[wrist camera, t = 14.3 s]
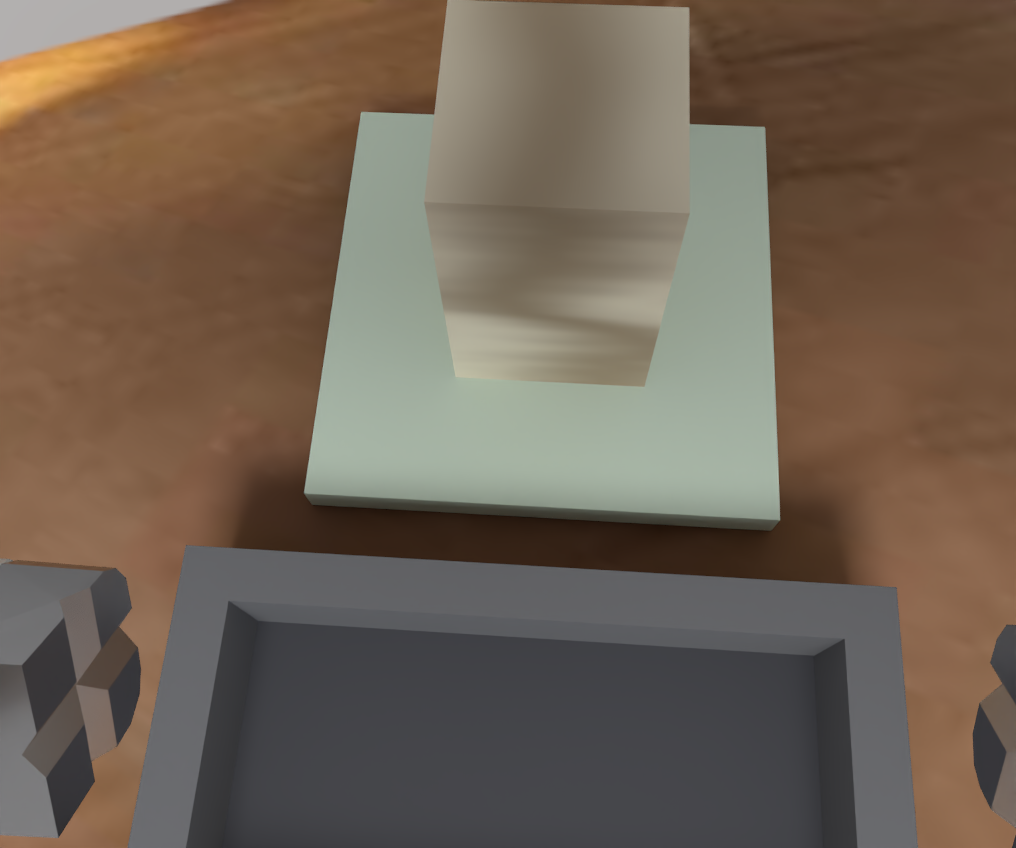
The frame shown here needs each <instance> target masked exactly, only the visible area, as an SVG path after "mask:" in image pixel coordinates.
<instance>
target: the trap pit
mask: <svg viewBox="0 0 1016 848" xmlns="http://www.w3.org/2000/svg"><path fill="white" fill-rule="evenodd" d="M128 848H918V844H917V831H916V819H915V807H914V795H913V783H912V770H911V758H910V746H909V734H908V722H907V710H906V697H905V685H904V673H903V661H902V649H901V636H900V624H899V612H898V600H897V588H896V587H882V586H865V585H848V584H831V583H815V582H798V581H781V580H764V579H747V578H730V577H713V576H696V575H679V574H662V573H645V572H629V571H612V570H595V569H578V568H561V567H544V566H527V565H510V564H493V563H476V562H459V561H443V560H426V559H409V558H392V557H375V556H358V555H341V554H324V553H307V552H290V551H273V550H257V549H240V548H223V547H206V546H189V545H186V548H185V553H184V558H183V563H182V568H181V574H180V579H179V584H178V589H177V594H176V600H175V605H174V610H173V615H172V620H171V625H170V631H169V636H168V641H167V646H166V651H165V657H164V662H163V667H162V672H161V677H160V682H159V688H158V693H157V698H156V703H155V708H154V714H153V719H152V724H151V729H150V734H149V740H148V745H147V750H146V755H145V760H144V765H143V771H142V776H141V781H140V786H139V791H138V797H137V802H136V807H135V812H134V817H133V822H132V828H131V833H130V838H129V843H128Z"/></svg>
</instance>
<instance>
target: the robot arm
mask: <svg viewBox="0 0 1016 848" xmlns="http://www.w3.org/2000/svg"><path fill="white" fill-rule="evenodd" d="M131 608H132V607H131V601H130V596H129V591H128V586H127V581H126V578H125V577H124V576H123V575H122V574H121V573H120V572H119V571H118V570H117V569H116V568H108V567H96V566H83V565H71V564H59V563H47V562H35V561H23V560H16V561H13V560H10V559H0V835H10V836H30V837H51V838H59V836H60V835H61V833H62V831H63V830H64V828H65V827H66V825H67V824H68V822H69V821H70V819H71V817H72V816H73V814H74V813H75V811H76V810H77V808H78V807H79V805H80V804H81V802H82V800H83V799H84V797H85V796H86V794H87V793H88V791H89V790H90V788H91V786H92V785H93V783H94V782H95V780H94V774H93V769H92V763H91V761H93V760H95V759H96V758H98V757H100V756H101V755H103V754H105V753H106V752H108V751H110V750H112V749H113V748H115V747H117V746H118V744H119V742H120V741H121V739H122V737H123V736H124V734H125V732H126V731H127V729H128V727H129V726H130V724H131V721H132V718H133V714H134V711H135V708H136V704H137V701H138V697H139V694H140V675H141V667H140V660H139V653H138V647H137V646H136V645H135V644H134V643H133V642H132V640H131V639H130V638H129V637H128V636H127V635H126V634H125V633H124V632H123V630H122V629H121V628H120V627H119V626H120V624H121V623H122V621H123V620H124V619H125V617H126V616H127V614H128V613H129V611H130V610H131ZM990 663H991V665H992V667H993V668H994V670H995V672H996V673H997V675H998V677H999V679H1000V680H1001V682H1002V685H1001V686H999V687H998V688H997V689H996V690H995V691H993V692H992V693H991V694H990V695H989V696H987V697H986V698H985V699H984V700H983V701H981V702H980V703H979V708H978V712H977V717H976V721H975V726H974V730H973V751H974V766H975V770H976V773H977V777H978V781H979V784H980V788H981V790H982V792H983V794H984V796H985V798H986V800H987V802H988V804H989V806H990V808H991V810H992V811H994V812H995V813H996V814H998V815H999V816H1000V817H1002V818H1003V819H1004V820H1006V821H1007V822H1008V823H1010V824H1011V825H1012V826H1014V827H1015V828H1016V625H1006V627H1005V628H1004V630H1003V631H1002V633H1001V634H1000V636H999V637H998V639H997V641H996V645H995V648H994V652H993V655H992V659H991V662H990ZM1012 848H1016V836H1015V840H1014V843H1013V846H1012Z"/></svg>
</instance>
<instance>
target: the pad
mask: <svg viewBox="0 0 1016 848" xmlns="http://www.w3.org/2000/svg"><path fill="white" fill-rule="evenodd" d="M433 122H434V115H431V114H405V113H378V112H361V117H360V123H359V130H358V137H357V143H356V150H355V157H354V163H353V170H352V177H351V183H350V190H349V197H348V203H347V210H346V217H345V223H344V230H343V237H342V243H341V250H340V257H339V263H338V270H337V277H336V283H335V290H334V297H333V303H332V310H331V317H330V323H329V330H328V337H327V343H326V350H325V357H324V363H323V370H322V377H321V383H320V390H319V396H318V403H317V410H316V416H315V423H314V430H313V436H312V443H311V450H310V456H309V463H308V470H307V476H306V483H305V490H304V494H305V495H306V497H307V498H308V500H309V501H310V502H311V504H312V505H324V506H342V507H359V508H377V509H394V510H412V511H430V512H447V513H465V514H482V515H500V516H518V517H535V518H553V519H570V520H588V521H606V522H623V523H641V524H658V525H676V526H694V527H711V528H729V529H746V530H764V531H772V529H773V528H774V527H775V526H776V525H777V523H778V522H779V521H780V499H779V473H778V447H777V421H776V395H775V369H774V344H773V318H772V292H771V266H770V240H769V214H768V188H767V163H766V137H765V127H752V126H725V125H698V124H690V214H689V218H688V222H687V226H686V230H685V233H684V237H683V241H682V245H681V249H680V253H679V256H678V260H677V264H676V268H675V272H674V276H673V279H672V283H671V287H670V291H669V295H668V298H667V302H666V306H665V310H664V314H663V318H662V321H661V325H660V329H659V333H658V337H657V340H656V344H655V348H654V352H653V356H652V360H651V363H650V367H649V371H648V375H647V379H646V383H645V386H644V387H638V386H618V385H598V384H579V383H559V382H540V381H520V380H500V379H481V378H461V377H455V371H454V366H453V360H452V355H451V349H450V343H449V338H448V332H447V327H446V321H445V316H444V310H443V304H442V299H441V293H440V288H439V282H438V277H437V271H436V266H435V260H434V254H433V249H432V243H431V238H430V232H429V227H428V221H427V215H426V210H425V204H424V199H425V190H426V181H427V173H428V164H429V156H430V147H431V139H432V130H433Z"/></svg>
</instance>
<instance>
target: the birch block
mask: <svg viewBox="0 0 1016 848" xmlns="http://www.w3.org/2000/svg"><path fill="white" fill-rule="evenodd" d="M424 204H425V210H426V215H427V221H428V227H429V232H430V238H431V243H432V249H433V254H434V260H435V266H436V271H437V277H438V282H439V288H440V293H441V299H442V304H443V310H444V316H445V321H446V327H447V332H448V338H449V343H450V349H451V355H452V360H453V366H454V371H455V377H461V378H481V379H500V380H520V381H540V382H559V383H579V384H598V385H618V386H638V387H644V386H645V383H646V379H647V375H648V371H649V367H650V363H651V360H652V356H653V352H654V348H655V344H656V340H657V337H658V333H659V329H660V325H661V321H662V318H663V314H664V310H665V306H666V302H667V298H668V295H669V291H670V287H671V283H672V279H673V276H674V272H675V268H676V264H677V260H678V256H679V253H680V249H681V245H682V241H683V237H684V233H685V230H686V226H687V222H688V218H689V214H690V112H689V7H659V6H628V5H597V4H566V3H536V2H505V1H474V0H448V2H447V10H446V19H445V27H444V36H443V44H442V53H441V62H440V70H439V79H438V87H437V96H436V104H435V113H434V122H433V130H432V139H431V147H430V156H429V164H428V173H427V181H426V190H425V199H424Z"/></svg>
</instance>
